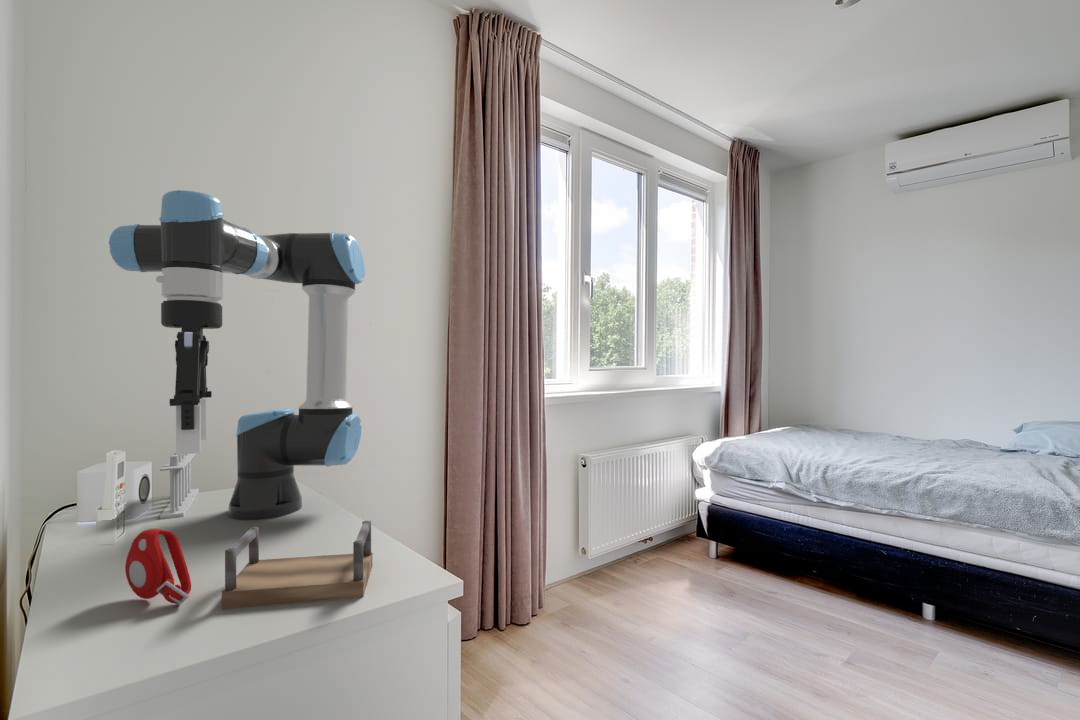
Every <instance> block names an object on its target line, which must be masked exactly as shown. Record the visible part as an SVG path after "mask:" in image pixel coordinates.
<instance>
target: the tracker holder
mask: <svg viewBox="0 0 1080 720" xmlns="http://www.w3.org/2000/svg"><path fill="white" fill-rule="evenodd" d="M160 535H162V536H163V538H164V539H165V542H166V544H167V547H168V550H169V554H170V556H171V560H172V562H173V566H174V568H175V571H176V575H177V578H178V581H179V583H180V584H175V580H174V579H175V578H174V575H173V573H172V570H171V568H170V565H169V564H168V560H167V559H166V557H165V554H164V552H163V550H162V547H161V543H160V538H159V537H160ZM125 576H126V581H127V582H128V585H129V587H130V589H131V590H132V592H133V593H134V594H135V595H136V596H138V597H139V598H141V599H145V600H147V599H148V600H149V599H152V598H155V597H156V596H158V595H161V596H163V598H164V600H165V601H167V602H169V603H170V604H175V605H176V606H179V605H182V604H183V602H185V601H186V600H187V599H188V598H189V596H190V595H189V594H190V593H191V591H192V581H191V576H190V573H189V569H188V566H187V563H186V561H185V557H184V552H183V551H182V547H181V543H180V541H179V539H178V537H177V536H176V534H174V533H173V532H172V531H170V530H164V529H160V528H149V529H145V530H143V531H141V532H140V533H138V535H136V536H135V538H134V539H133V541H132V542H131V546H130V549H129V550H128V554H127V556H126V561H125Z"/></svg>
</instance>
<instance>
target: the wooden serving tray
mask: <svg viewBox="0 0 1080 720" xmlns="http://www.w3.org/2000/svg"><path fill="white" fill-rule="evenodd" d="M361 524H362V525H361V527H360V530H359V532H358V534H357V536H356V539H355V541H353V542H352V543H353V546H352V549H353V553H344V554H342V553H341V554H331V555H330V554H329V555H313V556H301V557H299V556H298V557H283V558H270V559H267V558H266V559H260V555H259V554H260V551H259V550H260V549H259V548H260V547H259V545H260V544H259V543H260V541H259V540H260V539H259V538H260V537H259V536H260V535H259V534H260V530H259V526H253V527H249V528H248V530H247V531H246V532H245V533H243V534H242V535H241V536H240V538H238V539H237V540H236V541H235V542H234V543H233V544H232V545H231V546H230V547H228V549H226V550H224V589H223V591H221V610H231V609H243V608H255V607H266V606H276V605H277V606H278V605H290V604H299V603H300V604H301V603H311V602H320V601H321V602H322V601H333V600H334V601H335V600H336V601H337V600H345V599H356V598H357V599H358V598H364V597H365V592H366V589H367V586H368V583H369V579H370V576H371V573H370V572H372V570H373V552H372V521H371V520H364V521H362V523H361ZM247 546H248V562H247V564H246V565H245V566H244V567H243V568H242V569H241V570H240V572H238V574H237V557H238V555H240V553H241V552H242V551H243V550H244V549H245V548H246V547H247Z"/></svg>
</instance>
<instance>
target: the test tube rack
mask: <svg viewBox="0 0 1080 720" xmlns="http://www.w3.org/2000/svg"><path fill="white" fill-rule="evenodd" d="M197 454H198V453H196V454H182V455H176V451H175V452H173V455H172V454H171V455H170V457H169V460H168V461H167V462H165V464H164V465H162V467H160V468H159V471H161V472H162V471H169V503H168V504H167V505H166V507H165V508H164V510H163V511H161V512H162V513H160V515H159V519H160V520H165V519H173V518H174V519H175V518H183V517H185V515H186V514H187V511H189V508H190V507H191V505H192V503H193V502H194V500H195V498H196V497H197V495H198V493H199V491H200V490H199V488H192V487H191V485H192V482H191V481H192V480H191V477H192V475H191V474H192V473H191V471H192V470H191V468H192V467H191V464H192V463H191V462H192V459H194V457H195V456H196V455H197ZM196 494H197V495H196ZM195 496H196V497H195Z"/></svg>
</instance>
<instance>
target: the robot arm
mask: <svg viewBox="0 0 1080 720" xmlns="http://www.w3.org/2000/svg"><path fill="white" fill-rule="evenodd" d="M160 207H161V208H160V216H159V221H160V224H140V223H135V224H133V225H131V224H129V225H121V226H118V227H116V228H115V229H114V230H113V231H112V232H111V234H110V237H109V240H108V244H109V253H110V256H111V258H112V260H113V262H114V263H115V264H116V265H117V266H118V267H120V268H121V269H123V270H125V271H128V272H140V273H150V272H151V273H152V272H154V273H156V272H158V273H159V272H161V274H162V275H157V276H156V278H155V282H157V283H161V296H162V297H163V298H164V299H165V298H166V300H163V301H162V302H161V303H160V324H161V325H162V326H163V327H165V328H170V329H171V328H172V329H181V330H180V331H178V332H177V334H176V340H175V342H174V348H175V349H174V350H175V364H176V368H175V369H176V370H175V372H176V373H175V388H174V395H173V398H169V406H170V407H175V452H176V455H182V454H196V453H197V454H201V441H207V440H208V424H207V423H208V419H207V418H208V417H207V416H208V414H207V413H208V409H207V408H208V407H207V406H208V405H207V403H208V399H207V398H212V394H213V393H212V390H208V387H207V384H208V383H207V366H208V364H209V359H208V358H209V355H208V353H209V352H210V341H209V340H207V337H206V335H204V329H205V330H207V329H208V330H213V329H221V328H222V326H223V305H221V304H222V303H219V301H221V300H223V298H224V297H223V293H224V291H223V287H224V286H223V284H224V283H223V282H224V280H223V279H224V278H223V277H224V276H223V275H224V274H234V275H245V276H247V277H248V278H252V279H255V280H256V279H257V280H267V281H268V280H269V281H275V282H281V283H286V284H287V283H288V284H302V285H301V287H302V288H301V289H302V291H303V292H305V294H306V295H307V296H308V316H307V317H308V323H307V361H306V362H307V363H306V364H307V365H306V391H305V392H306V396H305V398H306V399H305V401H304V402H302V404H300V405H299V406H298V414H295V411H294V409H293V408H292V407H290V408H289V407H288V408H281V409H273V410H272V409H271V410H266V411H259V412H252V413H247V414H243V415H242V416H241V417H240V418H239V419H238V422H237V428H236V435H235V436H236V447H237V448H236V452H237V457H236V458H237V461H236V464H237V468H236V469H237V480H236V484H235V486H234V489H233V491H232V494H231V498H230V500H229V504H228V516H229V517H230V518H232V519H235V520H243V521H244V520H247V521H249V520H251V521H253V520H254V521H255V520H266V519H272V518H278V517H279V518H280V517H283V516H286V515H291V514H293V513H296V512H297V511H300V510H301V509H302V507H303V496H302V493H301V490H300V488H299V486H298V483H297V480H296V478H295V474H294V471H295V470H294V469H295V467H296V466H301V467H302V466H304V467H305V466H308V467H309V466H314V467H315V466H318V467H319V466H322V467H323V466H325V467H329V468H330V467H332V466H334V467H335V466H344V465H347V464H348V463H350V462H351V461H352V460H353V459H354V457H355V455H356V453H357V451H358V449H359V445H360V441H361V438H362V423H361V418H360V417H359V416H358V415H357V414H355V413H353V405H352V404H350V402H348V401H347V371H348V370H347V368H348V365H347V363H348V360H347V359H348V327H349V326H348V320H349V318H348V317H349V311H348V310H349V299H350V298H351V297H352V296H353V295H354V294H355V293H356V285H360V284H361V283H362V282H363V281H364V279H365V274H366V273H365V272H366V271H365V261H364V256H363V253H362V250H361V248H360V245H359V243H358V241H357V240H356V238H355V237H354V236H352V235H351V234H349V233H339V232H338V233H336V232H319V233H318V232H315V233H313V232H309V233H307V232H305V233H303V232H302V233H301V232H300V233H294V232H291V233H290V232H288V233H278V234H277V233H276V234H269V235H268V234H267V235H265V234H264V235H259V234H256V233H255V232H252V231H251V230H250V229H248V228H246V227H241V226H239V225H237V224H234V223H231V222H230V221H227V220H226V219H223V218H224V213H223V205H222V203H221V201H220V199H219V198H217V197H215V196H213V195H211V194H208V193H205V192H200V191H195V190H182V189H180V190H179V189H177V190H171V191H167V192H166V193H164V194H163V195H162V197H161V205H160ZM197 454H196V455H197ZM294 466H295V467H294Z"/></svg>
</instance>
